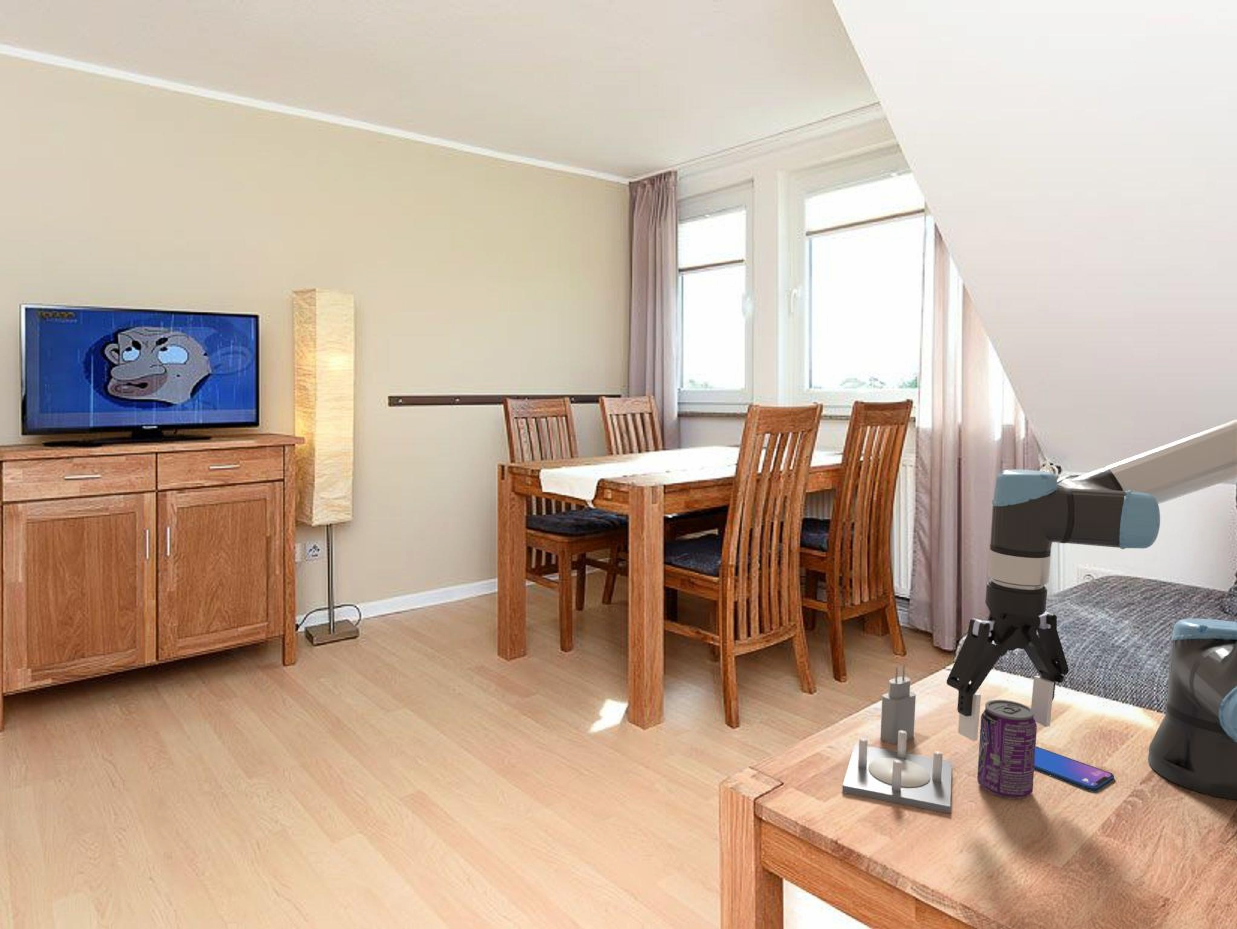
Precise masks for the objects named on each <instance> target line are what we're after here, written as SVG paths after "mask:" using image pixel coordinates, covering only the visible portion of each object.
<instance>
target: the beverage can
mask: <svg viewBox="0 0 1237 929" xmlns="http://www.w3.org/2000/svg"><path fill="white" fill-rule="evenodd" d="M984 707H985V709H984V710H983V711H982V713H981V716H980V725H979V726H980V728H979V743H978V744H979V745H978V761H977V778H976V779H977V783H978V784H979V785H980V787H982V788H984V790H986V791H988V792H990V794H993V795H994V796H998V797H1001V798H1004V799H1018V798H1020V799H1021V798H1025V797H1028V796H1030V795H1032V793H1033V791H1034V780H1035V779H1034V777H1035V770H1034V763H1035V748H1036V746H1037V745H1036V744H1037V729H1038V725H1037V724H1038V723H1037V722H1035V720H1034V717H1033V716H1034V711H1033V710H1032V709H1031V707H1029V706H1028V705H1025V704H1023V703H1021V702H1016V701H1013V700H1006V699H993V700H992V699H991V700H988V701H987V702H986V703H985V705H984Z"/></svg>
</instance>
